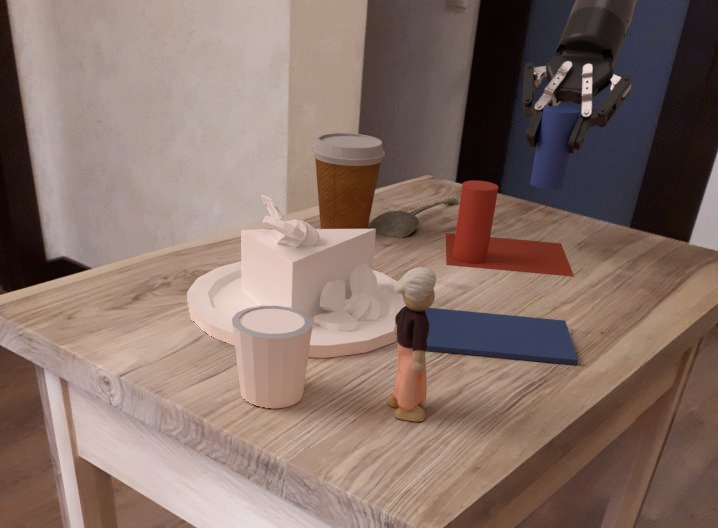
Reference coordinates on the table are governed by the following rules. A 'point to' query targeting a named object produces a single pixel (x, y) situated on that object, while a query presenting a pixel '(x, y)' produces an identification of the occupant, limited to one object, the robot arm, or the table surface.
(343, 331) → the dish
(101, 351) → the table surface
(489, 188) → the red cylinder
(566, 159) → the blue cylinder
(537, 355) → the blue mat
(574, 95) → the robot arm
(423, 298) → the grandmother figurine
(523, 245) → the red mat
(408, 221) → the soupspoon
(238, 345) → the white tapered cup
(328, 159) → the disposable coffee cup
